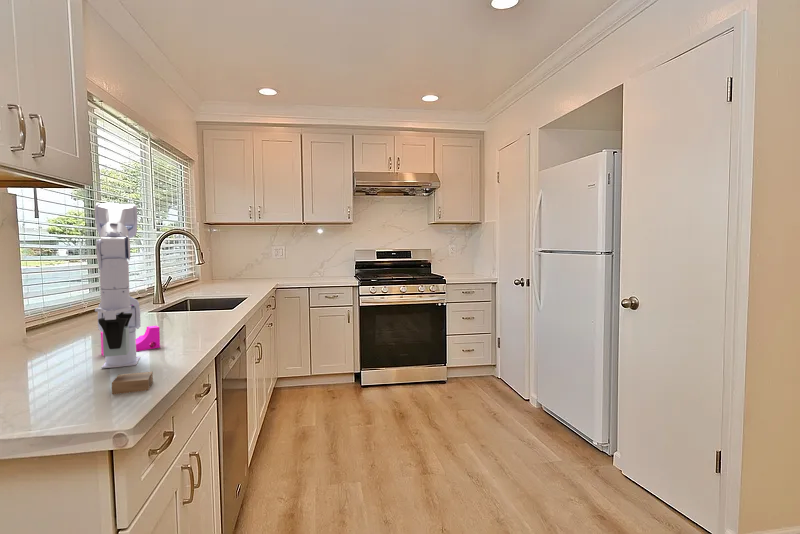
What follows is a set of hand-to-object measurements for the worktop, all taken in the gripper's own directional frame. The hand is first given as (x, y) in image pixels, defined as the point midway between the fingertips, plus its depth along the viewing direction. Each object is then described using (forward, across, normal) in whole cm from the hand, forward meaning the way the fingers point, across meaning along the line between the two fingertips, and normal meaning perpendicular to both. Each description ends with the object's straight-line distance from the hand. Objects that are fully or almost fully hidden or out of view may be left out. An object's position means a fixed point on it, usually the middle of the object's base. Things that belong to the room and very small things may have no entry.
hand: (117, 346), depth 107 cm
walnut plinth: (+9, +5, +4) cm, 11 cm away
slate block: (+2, 0, 0) cm, 2 cm away
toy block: (+9, -37, -2) cm, 38 cm away
